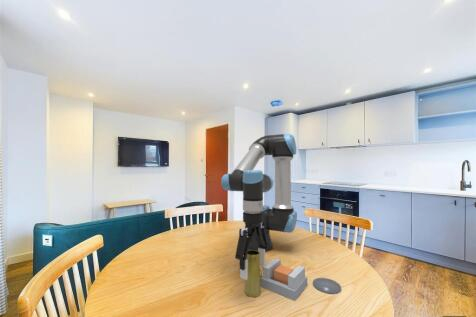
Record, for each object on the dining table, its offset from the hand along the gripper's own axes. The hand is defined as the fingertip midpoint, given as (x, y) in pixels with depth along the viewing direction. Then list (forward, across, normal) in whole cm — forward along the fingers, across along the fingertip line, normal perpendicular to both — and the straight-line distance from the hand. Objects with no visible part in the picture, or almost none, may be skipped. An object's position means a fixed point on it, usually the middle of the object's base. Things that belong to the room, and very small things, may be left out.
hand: (253, 271), depth 76 cm
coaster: (+7, +21, -20) cm, 30 cm away
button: (+5, +11, -7) cm, 14 cm away
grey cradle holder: (+7, +11, -7) cm, 15 cm away
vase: (+7, 0, 0) cm, 7 cm away
